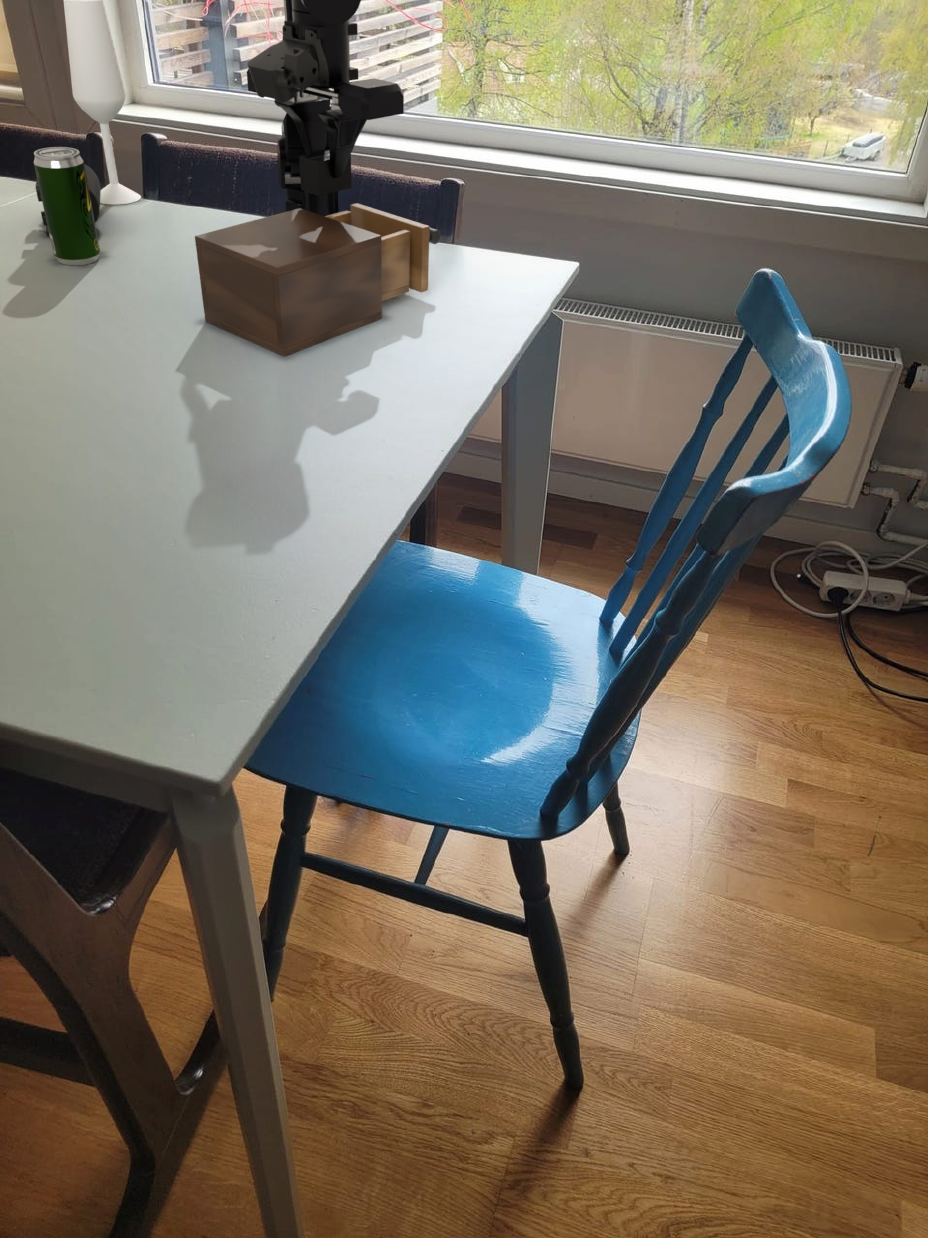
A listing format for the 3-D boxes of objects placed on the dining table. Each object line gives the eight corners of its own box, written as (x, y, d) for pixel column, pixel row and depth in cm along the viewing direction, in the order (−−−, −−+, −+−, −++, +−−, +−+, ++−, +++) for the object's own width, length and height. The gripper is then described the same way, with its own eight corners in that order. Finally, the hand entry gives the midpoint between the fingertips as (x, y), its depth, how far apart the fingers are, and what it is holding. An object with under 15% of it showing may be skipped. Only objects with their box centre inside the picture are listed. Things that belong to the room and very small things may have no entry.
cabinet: (304, 288, 113) (299, 207, 108) (382, 318, 107) (381, 235, 102) (205, 321, 104) (194, 235, 99) (284, 356, 98) (277, 267, 93)
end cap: (104, 236, 124) (94, 180, 120) (46, 238, 122) (33, 181, 118) (105, 212, 131) (95, 159, 127) (50, 214, 129) (38, 160, 125)
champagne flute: (124, 206, 134) (90, 3, 118) (82, 200, 135) (43, -2, 120) (150, 194, 139) (121, -3, 123) (109, 188, 140) (75, -8, 125)
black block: (333, 182, 111) (332, 149, 108) (351, 187, 109) (351, 154, 107) (300, 189, 107) (299, 155, 105) (319, 195, 106) (317, 161, 104)
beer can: (62, 268, 114) (38, 160, 107) (49, 254, 118) (26, 148, 110) (107, 262, 117) (87, 155, 109) (93, 248, 120) (73, 144, 112)
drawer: (384, 256, 121) (383, 195, 116) (453, 280, 115) (456, 217, 111) (274, 292, 109) (269, 226, 105) (346, 321, 104) (344, 252, 99)
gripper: (198, 3, 97) (215, 168, 107) (325, 28, 88) (331, 206, 98) (282, -3, 104) (291, 153, 114) (408, 20, 95) (406, 187, 105)
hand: (326, 174), depth 107 cm, fingers closed on black block, 3 cm apart
